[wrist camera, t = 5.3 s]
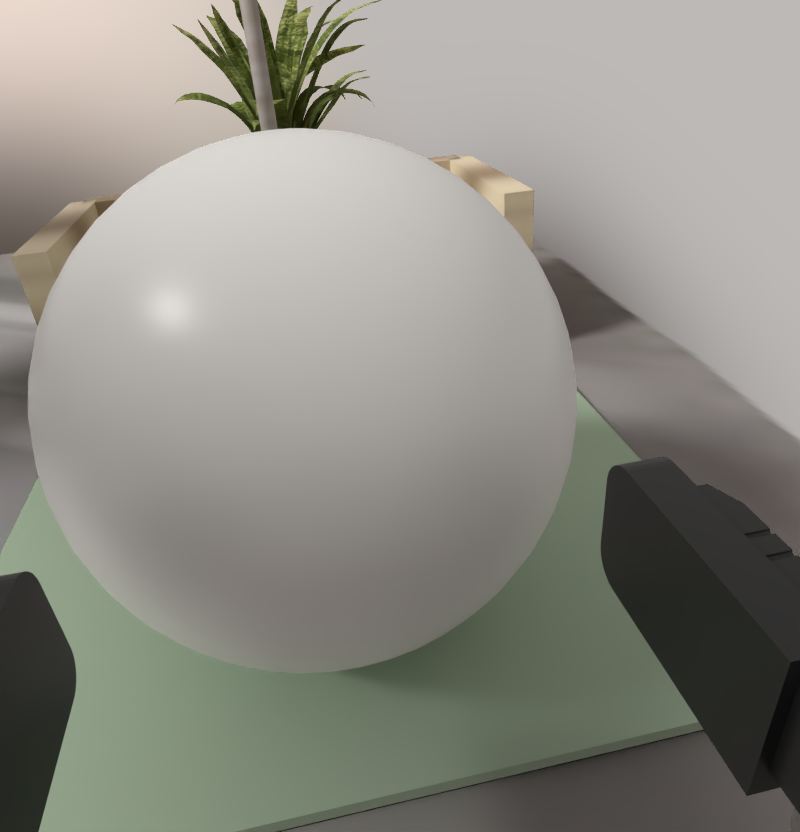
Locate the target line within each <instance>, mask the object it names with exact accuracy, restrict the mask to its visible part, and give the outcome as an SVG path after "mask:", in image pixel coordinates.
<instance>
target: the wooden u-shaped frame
mask: <svg viewBox="0 0 800 832" xmlns="http://www.w3.org/2000/svg"><path fill="white" fill-rule="evenodd" d="M239 3H240V9H241V15H242V21H243V27H244V33H245V38H246V44H247V50H248V56H249V62H250V68H251V74H252V79H253V85H254V91H255V97H256V103H257V109H258V114H259V120H260V126H261V131H265V130H274V129H278V128H277V121H276V115H275V109H274V102H273V96H272V90H271V84H270V77H269V71H268V65H267V59H266V52H265V46H264V40H263V33H262V27H261V21H260V15H259V8H258V2H257V0H239ZM427 159H429V160H431V161H433V162H434V163H436V164H438V165H439V166H441V167H443V168H445V169H446V170H448V171H450V172H451V173H453V174H455V175H457V176H458V177H459V178H461V179H462V180H463V181H464V182H466V183H467V184H468V185H470V186H471V187H472V188H473V189H475V190H476V191H477V192H478V193H480V194H481V195H482V196H483V197H485V198H486V199H487V200H488V201H489V202H490V203H491V204H492V205H493V206H494V207H495V208H496V209H497V210H498V211H499V212H500V213H501V214H502V215H503V216H504V217H505V218H506V220H507V221H508V222H509V223H510V224H511V225H512V226H513V227H514V228H515V229H516V230H517V232H518V233H519V234H520V236H521V237H522V239H523V240H524V242H525V243H526V244H527V246H528V247H529V249H530V250H531V252H532V253H533V211H534V209H533V208H534V207H533V206H534V190H533V189H531V188H529V187H527V186H526V185H524V184H522V183H520V182H518V181H516V180H514V179H513V178H511V177H509V176H507V175H505V174H503V173H501V172H500V171H498V170H496V169H494V168H492V167H490V166H488V165H487V164H484V163H483V162H481V161H479V160H477V159H475V158H473V157H472V156H462V157H458V156H456V155H452V156H443V157H435V158H427ZM120 196H121V195H114V196H106V197H96V198H88V199H86V200H85V201H82V202H73V203H70V204H69V205H68V206H66V207H65V208H64V209H63V210H62V211H61V212H60V213H59V214H57V215H56V216H55V217H54V218H53V219H52V220H51V221H50V222H49V223H47V224H46V225H45V226H44V227H43V228H42V229H41V230H40V231H38V233H36V234H35V235H34V236H33V237H32V238H31V239H30V240H29V241H27V242H26V243H25V244H24V245H23V246H22V247H21V248H20V249H19V250H17V251H16V252H15V253H14V254H13V255H12V256H11V258H12V260H13V263H14V265H15V268H16V271H17V273H18V276H19V279H20V281H21V284H22V287H23V289H24V292H25V294H26V297H27V300H28V302H29V305H30V308H31V310H32V313H33V315H34V318H35V321H36V323H37V326H38V324H39V321H40V318H41V316H42V313H43V310H44V307H45V304H46V301H47V298H48V295H49V292H50V291H51V289H52V287H53V285H54V283H55V281H56V279H57V277H58V276H59V274H60V272H61V270H62V268H63V266H64V264H65V262H66V261H67V259H68V257H69V255H70V254H71V252H72V251H73V249H74V248H75V247H76V245H77V244H78V243H79V241H80V240H81V239H82V237H83V236H84V235H85V233H86V232H87V231H88V230H89V228H90V227H91V226H92V224H93V223H94V222H95V220H96V219H97V218H98V217H99V216H101V215H102V214H103V213H104V212H105V211H106V210H107V209H108V208H109V207H110V206H111V205H112V204H113V203H114V202H115V201H116V200H117V199H118V198H119V197H120Z"/></svg>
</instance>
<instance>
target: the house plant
mask: <svg viewBox="0 0 800 832" xmlns="http://www.w3.org/2000/svg"><path fill="white" fill-rule="evenodd" d="M339 1H340V0H337V1H336V2H334V3H333V4H332V5H331V6H330V7H328V8H327V10H326V11H325V13H324V14H323V15H322V17H321V18H320V20H319V21H318V23H317V25H316V28H315V30H314V32H313V33H312V35H311V37H310V39H309V41H308V42H307V45H306V48H305V51H304V53H303V57H302V61H301V64H300V60H301V55H302V52H303V48H304V44H305V41H306V38H307V35H308V28H307V17H308V15H309V13H310V8H311V7H309V8H306V9H305V10H303V11H302V12H300V13H299V14H298V15H297V0H287V1H286V5H285V8H284V11H283V14H282V18H281V21H280V24H279V30H278V35H277V41H276V49H275V50H274V46H273V42H272V37H271V34H270V30H269V27H268V23H267V20H266V18H265V16H264V13H263V11H262V9H261V7H260V5H259V3H258V8H259V15H260V21H261V27H262V33H263V40H264V46H265V52H266V59H267V65H268V71H269V77H270V84H271V90H272V96H273V102H274V109H275V115H276V121H277V128H278V129H287V128H308V129H317V128H318V127H319V125H320V124H321V122H322V121H323V119H324V118H325V116H326V115H327V114H328V112H329V111H330V110H331V109H332V107H333V106H334V105H335V103H336V101H337V100H338V98H339V97H340V95H342V96H343V97H344V95H343V93H353V94H357V95H358V96H359V95H361V96H363V97H365V98H367V99H368V100H370V99H369V98H368V97H367V96H366V95H365V94H364V93H362V92H360V91H357V90H353V89H345V88H346V87H347V86H348V85H349V84H350V83H351V82H353V81H355V80H352V81H350V82H348V83H347V84H346V85H344V86H343V87H342V88H340V86H341V84H342V83H343V82H344V81H345V80H346V79H347V78H348V77H350V76H351V75H353V74H355V73H359V72H363V71H358V72H353V73H350V74H348V75H345V76H344V77H342V78H341V79H340V80H338V81H337V82H336V83H335V84H334V85H329V86H325V87H321V86H314V85H315V82H316V79H317V77H318V74H319V71H320V69H321V67H322V65H323V64H325V63H327V62H328V61H330V60H332V59H333V58H335V57H336V56H339V55H341V54H345V53H348V52H351V51H354V50H356V49H358V48H359V47H361V46H363V45H357V46H351V47H344V48H340V49H336V50H332V51H329V50H330V48H331V46H332V45H333V43H334V41H335V40H336V39H337V37H338V36H339V35H340V34H341V33H342V31H343V30H344V29H345V28H346V27H347V26H348V25H350V24H351V23H353V22H356V21H360V20H364V19H355V20H352V21H349V22H346V23H345V24H343V25H342V26H340V27H339V28H338V29H337V30H336V31H335V32H334V33H333V34H332V36H331V37H330V39H329V40H328V42H327V43H326V45H325V47H324V49H323V51H322V53H321V55H319V56H316V55H317V53H318V51H319V50H320V48H321V46H322V45H323V43H324V42H325V40H326V39H327V38H328V36H329V35H330V33H331V32H332V31H333V29H334V28H335V27H336V26H337V25H338V24H339V23H340V22H341V21H342V20H343V19H344V18H345V17H347V16H348V15H349V14H351V13H352V12H353V11H354V10H356V9H359V8H361V7H363V6H366V5H369V4H372V3H375V2H378V1H380V0H378V1H375V2H371V3H367V4H364V5H361V6H358V7H356V8H354V9H352V10H349V11H348V12H346V13H345V14H343V15H342V16H340V17H339V18H338V19H336V20H331V21H328V22H326V23H324V21H325V18H326V16H327V15H328V13H329V12H330V11H331V9H332V8H333V6H334V5H335V4H337V3H338V2H339ZM233 2H234V3H235V9H236V14H237V17H238V19H239V21H240V23H241V25H242V27H243V21H242V15H241V9H240V3H239V0H233ZM257 2H258V1H257ZM212 9H213V14H214V16H215V18H212V17H209V16H207V18H208V19H209V20H210V22H211V24H212V26H213V27H214V28H215V31H216V33H217V35H218V36H219V38H220V40H221V42H222V44H223V46H224V48H225V50H226V53H227V55H226V53H225V52H224V50H223V48H222V47H221V46H220V45H219V43H218V42H217V41H216V40H215V39H214V38H213V36H212V35H211V34H210V33H209V31H208V30H207V29H206V28H205V27H204V26H203V25H202V24H201V23H200V21H199V23H200V25H201V27H202V29H203V31H204V32H205V34H206V36H207V37H208V39H209V41H210V43H211V44H212V46H213V48H214V49H215V51H216V52H217V54H218V55H219V56H220V58H219V56H217V55H216V54H215V53H214V52H213V51H212V50H210V49H209V48H208V47H207V46H206V45H205V44H204V43H202V42H201V41H200V40H199V39H197V38H196V37H195V36H193V35H192V34H190V33H188V32H186V31H184V30H182V29H180V28H178V27H177V26H175V25H174V26H175V27H176V28H177V29H178V30H179V31H180V32H181V33H183V34H184V35H186V36H187V37H189V38H190V39H191V40H192V41H193V42H194V43H195V44H196V45H197V46H198V47H199V48H200V49H201V51H202V52H203V53H205V54H206V55H207V56H208V57H209V58H210V59H211V60H212V61H213V62H214V63H215V64H216V65H217V66H218V67H219V68H220V69H221V70H222V71H223V72H224V73H225V75H226V76H227V78H228V79H229V80H230V82H231V83H232V85H233V86H234V87H235V89H236V90H237V92H238V93H239V95H240V96H241V98H242V102H236V103H233V104H231V105H229V104H228V103H226V102H224V101H222V100H220V99H218V98H215V97H213V96H210V95H206V94H203V93H191V94H186V95H184V96H182V97H181V98H179V99H178V100H177V101H180V100H190V99H193V100H203V101H207V102H211V103H214V104H217V105H220V106H223V107H225V108H228V109H229V110H230V111H232V112H233V113H234V114H236V115H237V116H238V117H239V118H240V119H241V120H242V121H243V122H244V123H245V124H246V125H247V126H248V127H249V129H250V130H251V132H258V131H261V126H260V120H259V114H258V109H257V103H256V97H255V91H254V85H253V79H252V74H251V68H250V62H249V56H248V51H247V49H246V47H245V45H244V44H243V42H242V40H241V39H240V38H239V37H238V36H237V35H235V33H234V32H232V31H231V30H230V29H229V28H228V26H227V25H226V23H225V22H224V21H223V19H222V18H221V16H220V15H219V13H218V11H217V10H216V9H215V8H214V6H213V5H212ZM365 19H367V18H365ZM330 22H333V23H332V25H330V26H329V27H328V28H327V30H326V31H325V32H324V34H323V35H322V36H321V37H320V39H319V40H318V42H317V44H316V45H315V47H314V48H313V46H314V44H315V42H316V40H317V37H318V35H319V32H320V30H321V27H322V26H324V25H325V24H327V23H330ZM323 23H324V24H323ZM243 29H244V27H243ZM312 49H313V50H312ZM311 51H312V52H311ZM315 56H316V57H315ZM314 70H315V71H314ZM312 71H314V74H313V76H312V79H311V81H310V84H309V87H308V88H307V89H305V90H304V91H303V92H302V93H301V94H300V96H299V97H298V95H299V92H300V90H301V87H302V84H303V81H304V78H305V76H306V75H308V74H309V73H310V72H312ZM363 78H367V77H362V78H359V79H363ZM356 80H358V79H356ZM320 88H327V89H330V90H329V91H328V92H326V93H324V94H322V95H321V96H320V97H319V98H317V99H316V100H315V101H314V102H313V104H312V105H311V106H310V108H309V109H308V111H307V113H306V115H305V118H304V120H303V117H304V114H305V111H306V108H307V105H308V102H309V99H310V97H311V96H312V94H313V93H314V92H316V91H317V90H318V89H320ZM359 97H360V96H359ZM297 98H298V99H297ZM344 99H345V98H344ZM330 100H332V101H331V103H330V104H329V106H328V107H327V109H326V110H325V112H324V113H323V115H322V116H321V118H320V119H319V117H320V115H321V113H322V111H323V110H324V108H325V106H326V105H327V103H328V102H329V101H330ZM177 101H176V102H177ZM318 119H319V121H318ZM317 121H318V122H317Z"/></svg>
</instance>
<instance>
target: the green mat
mask: <svg viewBox="0 0 800 832" xmlns="http://www.w3.org/2000/svg"><path fill="white" fill-rule="evenodd" d="M636 461H642V460H641V459H640V458H639V457H638V456H637V455H636V454H635V453H634V451H633V450H632V449H631V448H630V447H629V446H628V445H627V444H626V443H625V442H624V441H623V440H622V438H621V437H620V436H619V435H618V434H617V433H616V432H615V431H614V430H613V429H612V428H611V427H610V425H609V424H608V423H607V422H606V421H605V420H604V419H603V418H602V417H601V416H600V415H599V414H598V412H597V411H596V410H595V409H594V408H593V407H592V406H591V405H590V404H589V403H588V402H587V400H586V399H585V398H584V397H583V396H582V395H581V394H580V393H579V392H578V391H577V418H576V428H575V436H574V443H573V450H572V457H571V462H570V466H569V469H568V472H567V475H566V478H565V481H564V485H563V488H562V491H561V494H560V497H559V499H558V502H557V505H556V508H555V510H554V512H553V514H552V516H551V518H550V520H549V522H548V524H547V526H546V528H545V530H544V531H543V533H542V535H541V537H540V539H539V540H538V542H537V544H536V545H535V547H534V549H533V551H532V552H531V554H530V555H529V556H528V558H527V559H526V560H525V561H524V563H523V564H522V565H521V566H520V568H519V569H518V570H517V571H516V573H515V574H514V575H513V576H512V577H511V579H510V580H509V581H508V582H507V583H506V585H505V586H504V587H503V588H502V589H501V590H500V592H499V593H497V594H496V595H495V596H494V597H493V598H492V599H491V600H490V601H489V602H487V603H486V604H485V605H484V606H483V607H482V608H481V609H480V610H478V611H477V612H476V613H474V614H473V615H472V616H470V617H469V618H468V619H466V620H465V621H464V622H462V623H461V624H459V625H458V626H456V627H455V628H453V629H452V630H451V631H449V632H448V633H446V634H445V635H443V636H441V637H439V638H438V639H436V640H434V641H432V642H430V643H428V644H426V645H424V646H422V647H420V648H418V649H416V650H413V651H411V652H408V653H406V654H403V655H400V656H398V657H395V658H393V659H390V660H386V661H383V662H379V663H375V664H371V665H368V666H364V667H360V668H353V669H347V670H341V671H334V672H323V673H302V674H299V673H283V672H270V671H264V670H259V669H254V668H248V667H243V666H239V665H235V664H231V663H227V662H224V661H221V660H218V659H215V658H212V657H209V656H206V655H203V654H200V653H197V652H195V651H193V650H191V649H189V648H187V647H185V646H183V645H181V644H179V643H177V642H175V641H173V640H172V639H170V638H168V637H166V636H164V635H162V634H161V633H159V632H157V631H155V630H153V629H152V628H150V627H149V626H148V625H146V624H145V623H144V622H142V621H141V620H140V619H138V618H137V617H136V616H134V615H133V614H132V613H130V612H129V611H128V610H127V609H126V608H125V607H123V606H122V605H121V604H120V603H119V602H117V601H116V600H115V599H114V598H113V597H112V596H110V595H109V594H108V593H107V592H106V590H105V589H104V588H103V587H102V586H101V585H100V583H99V582H98V581H97V580H96V579H95V578H94V577H93V575H92V574H91V573H90V572H89V570H88V569H87V568H86V567H85V565H84V564H83V563H82V562H81V560H80V559H79V558H78V557H77V555H76V554H75V553H74V552H73V550H72V548H71V546H70V545H69V543H68V541H67V539H66V537H65V535H64V534H63V532H62V530H61V528H60V526H59V524H58V522H57V521H56V519H55V517H54V515H53V513H52V511H51V508H50V506H49V504H48V502H47V500H46V497H45V494H44V491H43V488H42V485H41V482H40V479H39V476H38V478H37V480H36V482H35V484H34V486H33V488H32V490H31V492H30V494H29V496H28V498H27V500H26V502H25V504H24V506H23V508H22V510H21V512H20V514H19V516H18V518H17V520H16V523H15V525H14V527H13V529H12V531H11V533H10V535H9V537H8V539H7V541H6V543H5V545H4V547H3V549H2V551H1V553H0V576H2V575H8V574H13V573H19V572H24V571H29V572H31V573H32V574H34V575H35V576H36V578H37V579H38V581H39V583H40V584H41V586H42V589H43V591H44V593H45V595H46V597H47V599H48V601H49V603H50V605H51V607H52V609H53V611H54V614H55V616H56V618H57V620H58V622H59V624H60V626H61V628H62V630H63V632H64V634H65V636H66V639H67V641H68V643H69V645H70V647H71V649H72V652H73V655H74V660H75V666H76V691H75V697H74V701H73V705H72V709H71V712H70V716H69V720H68V723H67V727H66V731H65V735H64V738H63V742H62V746H61V750H60V753H59V757H58V761H57V765H56V768H55V772H54V776H53V780H52V783H51V787H50V791H49V795H48V798H47V802H46V806H45V810H44V813H43V817H42V821H41V824H40V828H39V832H277V831H281V830H285V829H289V828H293V827H298V826H302V825H306V824H310V823H314V822H319V821H323V820H327V819H331V818H335V817H339V816H344V815H348V814H352V813H356V812H360V811H365V810H369V809H373V808H377V807H381V806H386V805H390V804H394V803H398V802H402V801H407V800H411V799H415V798H419V797H423V796H427V795H432V794H436V793H440V792H444V791H448V790H453V789H457V788H461V787H465V786H469V785H474V784H478V783H482V782H486V781H490V780H494V779H499V778H503V777H507V776H511V775H515V774H520V773H524V772H528V771H532V770H536V769H541V768H545V767H549V766H553V765H557V764H561V763H566V762H570V761H574V760H578V759H582V758H587V757H591V756H595V755H599V754H603V753H608V752H612V751H616V750H620V749H624V748H628V747H633V746H637V745H641V744H645V743H649V742H654V741H658V740H662V739H666V738H670V737H675V736H679V735H683V734H687V733H691V732H695V731H700V730H704V729H703V728H702V726H701V725H700V723H699V721H698V720H697V718H696V717H695V715H694V714H693V712H692V711H691V709H690V708H689V706H688V705H687V703H686V701H685V700H684V698H683V697H682V695H681V694H680V692H679V691H678V689H677V688H676V686H675V685H674V683H673V682H672V680H671V678H670V677H669V675H668V674H667V672H666V671H665V669H664V668H663V666H662V665H661V663H660V662H659V660H658V658H657V657H656V655H655V654H654V652H653V651H652V649H651V648H650V646H649V645H648V643H647V642H646V640H645V639H644V637H643V635H642V634H641V632H640V631H639V629H638V628H637V626H636V625H635V623H634V622H633V620H632V619H631V617H630V615H629V614H628V612H627V611H626V609H625V608H624V606H623V605H622V603H621V602H620V600H619V599H618V597H617V595H616V594H615V592H614V591H613V589H612V588H611V586H610V584H609V582H608V580H607V577H606V574H605V571H604V568H603V564H602V559H601V535H602V525H603V515H604V505H605V495H606V485H607V477H608V473H609V471H610V469H611V468H612V467H613V466H615V465H620V464H625V463H631V462H636Z"/></svg>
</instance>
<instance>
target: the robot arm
mask: <svg viewBox="0 0 800 832" xmlns="http://www.w3.org/2000/svg"><path fill="white" fill-rule="evenodd" d="M601 559H602V564H603V568H604V571H605V574H606V577H607V580H608V582H609V584H610V586H611V588H612V589H613V591H614V592H615V594H616V595H617V597H618V599H619V600H620V602H621V603H622V605H623V606H624V608H625V609H626V611H627V612H628V614H629V615H630V617H631V619H632V620H633V622H634V623H635V625H636V626H637V628H638V629H639V631H640V632H641V634H642V635H643V637H644V639H645V640H646V642H647V643H648V645H649V646H650V648H651V649H652V651H653V652H654V654H655V655H656V657H657V658H658V660H659V662H660V663H661V665H662V666H663V668H664V669H665V671H666V672H667V674H668V675H669V677H670V678H671V680H672V682H673V683H674V685H675V686H676V688H677V689H678V691H679V692H680V694H681V695H682V697H683V698H684V700H685V701H686V703H687V705H688V706H689V708H690V709H691V711H692V712H693V714H694V715H695V717H696V718H697V720H698V721H699V723H700V725H701V726H702V728H703V729H704V731H705V732H706V734H707V735H708V737H709V738H710V740H711V741H712V743H713V745H714V746H715V748H716V749H717V751H718V752H719V754H720V755H721V757H722V758H723V760H724V761H725V763H726V764H727V766H728V768H729V769H730V771H731V772H732V774H733V775H734V777H735V778H736V780H737V781H738V783H739V784H740V786H741V788H742V789H743V791H744V792H745V794H746V795H747V796H748V795H752V794H756V793H760V792H764V791H768V790H772V789H775V788H779V787H781V788H782V790H783V791H784V793H785V794H786V795H787V797H788V798H789V800H790V801H791V803H792V804H793V805H794V807H795V809H794V811H793V814H792V818H791V832H800V557H799V556H794V555H793V553H792V549H791V548H790V547H789V546H787V545H786V544H785V543H784V542H783V541H782V540H781V539H780V538H779V537H778V536H777V535H776V534H771V533H770V528H769V527H768V526H766V525H765V524H764V523H763V522H762V521H761V520H760V519H759V518H758V517H757V516H756V515H755V514H754V513H753V512H752V511H751V510H750V509H749V508H748V507H747V506H746V505H744V504H743V503H742V502H740V501H738V500H736V499H734V498H732V497H730V496H728V495H727V494H725V493H723V492H721V491H719V490H717V489H715V488H713V487H712V486H710V485H708V484H706V485H701V486H696V485H695V484H694V483H693V482H692V481H691V480H690V479H689V478H688V477H687V476H686V475H685V474H684V473H683V472H682V471H681V470H680V469H679V468H678V467H677V466H676V465H675V464H674V463H673V462H672V461H671V460H670V459H668V458H666V457H658V458H653V459H647V460H642V461H636V462H631V463H625V464H620V465H615V466H613V467H612V468H611V469H610V471H609V473H608V477H607V485H606V495H605V505H604V515H603V525H602V535H601ZM75 691H76V666H75V660H74V655H73V652H72V649H71V647H70V645H69V643H68V641H67V639H66V636H65V634H64V632H63V630H62V628H61V626H60V624H59V622H58V620H57V618H56V616H55V614H54V611H53V609H52V607H51V605H50V603H49V601H48V599H47V597H46V595H45V593H44V591H43V589H42V586H41V584H40V583H39V581H38V579H37V578H36V576H35V575H34V574H32V573H31V572H29V571H24V572H19V573H13V574H8V575H2V576H0V832H39V828H40V824H41V821H42V817H43V813H44V810H45V806H46V802H47V798H48V795H49V791H50V787H51V783H52V780H53V776H54V772H55V768H56V765H57V761H58V757H59V753H60V750H61V746H62V742H63V738H64V735H65V731H66V727H67V723H68V720H69V716H70V712H71V709H72V705H73V701H74V697H75Z"/></svg>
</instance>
